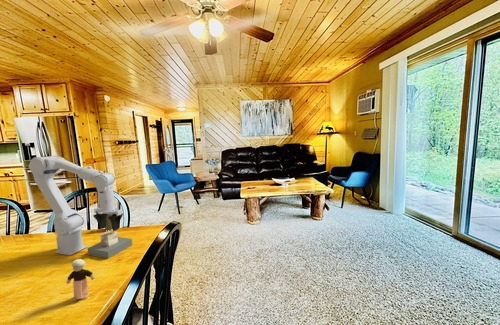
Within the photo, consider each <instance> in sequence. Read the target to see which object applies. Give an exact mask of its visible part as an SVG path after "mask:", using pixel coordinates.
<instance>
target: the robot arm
mask: <svg viewBox="0 0 500 325" xmlns="http://www.w3.org/2000/svg"><path fill="white" fill-rule="evenodd" d="M27 168H28V169H29V170H30V172H31V174H32V175H33V180H34V181H35V184H36V185H37V187H38V189H39V190H40V192H41V194H42V196H44V199H45V201H46V202H47V203H48V205H49V206H50V208H51V210H52V211H53V213H54V214H55V216H54V218H53V219H52V224H53V226H54V228H53V229H54V232H56V233H57V235H56V239H55V240H56V246H57V247H56V248H57V250H56V251H55V254H61V255H65V256H72V255H73V254H76V253H78V252H80V251H82V250H84V249H87V248H89V245H86V244H84V242H83V234H82V228H83V225H84V223H85V217H84V216H83V215H82V214H80V213H79V212H78V210H76V209H73V208H71V207H70V205H69V204H68V202H67V200H66V199H65V197H64V195H63V193H62V192H61V190H60V189H59V187H58V185H57V183H56V182H55V180H54V177H55V175H56V174H57V173H58V172H60V170H63V171H66V172H70V173H73V174H76V175H77V176H78V178H79V179H81V180H83V181H87V182H89V183H91V184H93V185H94V187H95V188H96V191H97V197H98V206H99V207H96V208H94V209H93V211H94V212H93V213H94V214H93V218H94V219H95V220H96V221H97V222H96V223H97V224H98V225H99V228H100V230H103V229H105V228H106V219H107V214H113V215H112V216H109V217H108V218H109V219H110V221H111V224H112V229H113V231H117V230H119V227H120V223H121V220H122V218H123V216H124V213H123V212H122V211H123V210H122V209H118V208H116V207H115V196H114V185H113V184H115V181H116V178H115V176H114V174H113V173H111V172H104V171H103V170H97V169H95V168H93V166H91V165H87V166H83V167H82V166H80V165H78V164H76V163H74V162H71V161H69V160H67V159H65V158H64V157H62V156H59V155H51V156H41V157H40V156H37V157H33V158H31V159H30V162H29V164H28V167H27Z"/></svg>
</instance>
